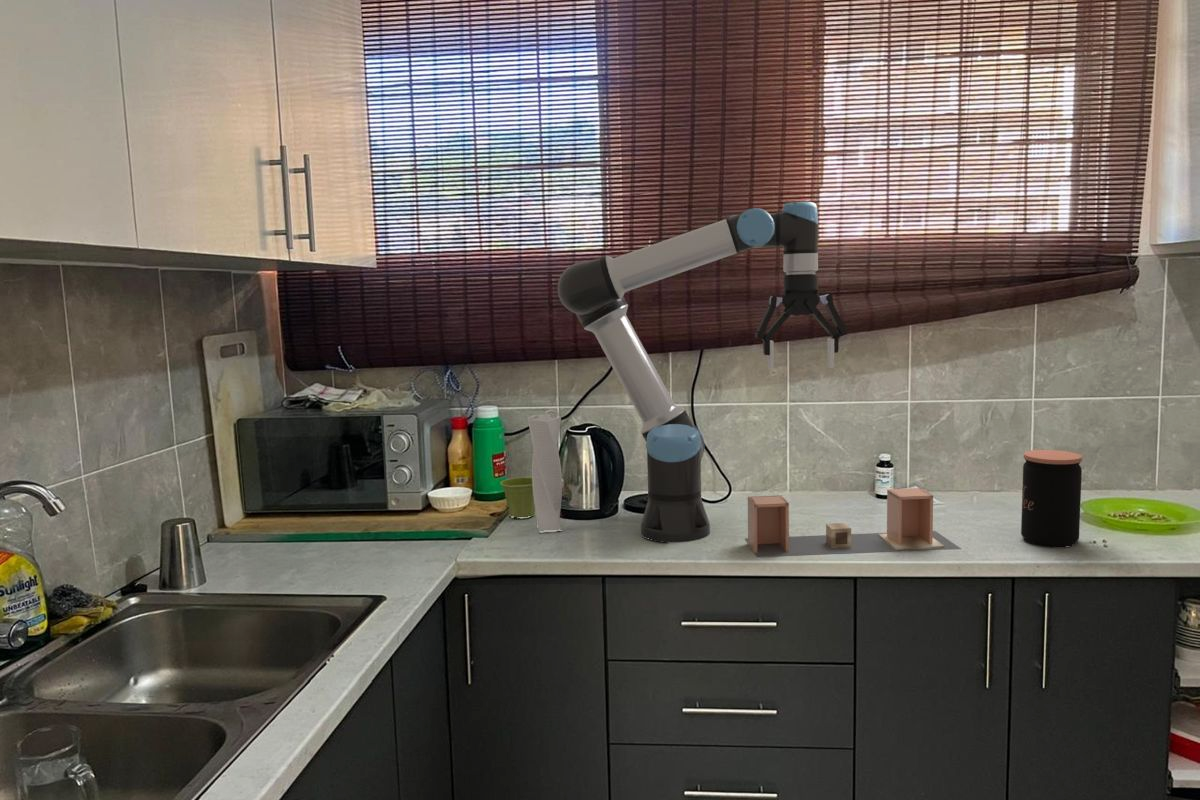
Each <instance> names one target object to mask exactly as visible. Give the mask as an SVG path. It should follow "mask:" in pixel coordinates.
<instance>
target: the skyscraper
mask: <svg viewBox="0 0 1200 800" xmlns="http://www.w3.org/2000/svg"><path fill="white" fill-rule="evenodd" d="M551 412H553V413H555V414H556V415H557V416H558V417H552V414H548V413H551ZM527 422H528V426H529V427H528V428H529V433H530V436H531V437H530V438H531V442H532V447H533V449H532V451H533V452H532V459H531V460H532V461H531V478H532V487H533V497H534V505H535V517H536V525H538V529H537V531H538V530H539V531H544V530H559V529H560V530H562V527H561V524H560V518H561V517H560V516H561V510H562V509H561V508H562V495H563V494H562V492H563V474H562V464H561V458H560V455H559V451H558V442H559V438H560V437H559V436H560V431H561V429H560V428H561V422H562V417H561V416H560V413H559V412H558V411H557V410H556V409H547V410H546V411H545V412H544V414H540V413H539V414H538V413H537V414H533V415H530V416H529V417H528V418H527ZM539 531H538V532H539ZM562 531H563V530H562Z"/></svg>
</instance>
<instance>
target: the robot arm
mask: <svg viewBox="0 0 1200 800" xmlns="http://www.w3.org/2000/svg"><path fill="white" fill-rule="evenodd" d="M818 215H819V214H818V206H817V204H816V203H815V202H812V201H797V202H796V201H795V202H787V203H784V205H783V206H782V210H781V211H779V212H774V213H773V212H772V213H771V212H770V213H769V212H768V211H767V210H765V209H763V208H759V207H758V208H756V207H754V208H749V209H746V210H745V211H744V212H742V213H740V214H734V215H733V214H732V215H730V216H729V218H725V219H722V220H720V221H716V222H714V223H711V224H708V225H705V226H703V227H698V228H696V229H694V230H691V231H687V232H685V233H682V234H680V235H677V236H673V237H671V238H668V239H665V240H662V241H660V242H656V243H654V244H651V245H648V246H645V247H643V248H639V249H637V250H633V251H631V252H628V253H624V254H621V255H620V256H616V257H612V256H610V255H604V256H603V257H599V258H596V259H592V260H588V261H581V262H575V263H573V264H572V265H569V266H568V267H567V268H566V269H564V271H563V272H562V274H561V275H560V277H559V279H558V284H557V294H558V298H559V300H560V302H561V304H562V305H563V307H565V309H566V310H568V311H570V312H571V313H573V314H575V315H576V317H577V319H578V321H579V323H580V325H582V327H583V330H585V331H589V332H591V333H593V334H594V336H595V338H596V339H597V341H598V343H599V345H600V346H601V349H602V351H603V353H604V355H605V356H606V358H607V359H608V360H607V361H609V363H610V366H611V367H612V369H613V370H614V372H615V374H616V376H617V378H618V379H619V382H620V384H621V385H622V387H623V390H624V391H625V392H626V395H627V396H628V398H629V400H630V402H631V404H632V406H633V407H634V409H635V410H636V413H637V415H638V417H639V419H640V421H641V422H642V425H641V430H640V433H641V436H642V437H643V438H644V441H645V448H646V461H647V467H646V468H647V497H648V498H647V503H646V506H645V509H644V512H643V513H644V514H643V517H642V519H641V524H640V534H642V535H643V536H644V537H646V538H649V539H652V540H656V541H655V542H657V541H663V542H662V543H665V542H668V543H685V542H687V543H688V542H693V541H694V542H695V541H698V540H702V539H705V538H706V537H708V536H710V534H711V524H710V520H709V517H708V515H707V512H706V509H705V506H704V503H703V500H702V474H701V473H702V471H701V470H702V459H703V457H704V454H705V441H704V437H703V434H702V431H700V429H699V428H698V427H697V426H696V425H694V423H693V421H692V420H691V417H690V416H689V414H688V412H687V411H686V409H685V408H684V407H681V406H678V405H676V404H675V402H674V400H673V399H672V396H671V395H670V393H669V390H668V389H667V388H666V386H665V383H664V382H663V380H662V377H660V375H659V372H658V371H657V369H656V367H655V365H654V364H653V362H652V359H651V358H650V356H649V354H648V352H647V350H646V349H645V347H644V346H643V343H642V342H641V339H640V338H639V336H638V334H637V332H636V331H635V328H634V327H633V325H632V323H631V321H630V320H629V318H628V316H627V311H628V309H629V308H628V307H629V304H628V303H627V301H626V298H625V297H624V295H625V293H627V292H629V291H631V290H635V289H637V288H641V287H644V286H646V285H650V284H653V283H655V282H658V281H660V280H661V281H662V280H663V279H667V278H669V277H673V276H675V275H678V274H681V273H683V272H687V271H690V270H692V269H696V268H698V267H702V266H703V265H707V264H711V263H713V262H715V261H718V260H721V259H725V258H727V257H730V256H733V255H736V254H739V253H743V252H744V251H748V250H750V249H761V248H762V249H763V248H781V247H782V249H783V251H782V252H783V262H782V264H783V266H782V268H783V269H782V270H783V272H784V273H785V274H784V276H783V281H782V283H783V287H782V288H783V289H782V290H783V295H782V297H778V296H775V295H771V296H769V298H768V303H767V304H768V305H767V308H766V310H765V312H764V315H763V316H762V318H761V321H760V323H759V325H758V326H757V329H756V331H755V334H754V337H755V338H757V339H760V340H762V352H763V355H764V356H767V370H769V371H774V370H775V366H774V365H775V359H774V358H775V353H774V352H775V349H774V348H775V347H774V344H775V343H774V340H771V339H772V337H774V336H775V334H776V333H777V331H778V330H779V329H780V328H781V327H782V325H783V324H784V323H785V322H786V321H787V319H788V318H790V316H794V317H797V316H801V315H802V316H809V315H811V316H812V317H814V318H815V320H816V321H817V322H818V323H819V325H821V327H822V328H823V329H824V331H826V333H827V334H828V335H829V336H830V338H829V337H828V338H827V359H826V360H827V368H830V369H834V368H835V353H838V352H839V342H840V341H839V340H840V338H841V337H843V336H846V335H848V331H847V329H846V327H845V324H844V322H843V321H842V318H841V316H840V314H839V313H838V311H837V308H836V306H835V305H834V300H833V295H832V294H830V293H828V294H824V295H819V276H818V273H816V272H817V271H818V270H819V250H818V249H819V219H818V218H819V216H818ZM820 302H821V304H822V305H825V308H826V310H827V313H828V314H829V317H830V319H831V321H832V323H833V324H834V326H835V328H834V326H832V324H831V323H830V322H829V321H828V319H827V318H825V316H824V315H823V314H822V312H821V311H820V310H819V309H818V308H817V306H818V304H819V303H820ZM780 303H781V304H782V305H783V306H784V309H783V310H782V311H781V313H780V315H779V316H778V317H777V318H776V320H774V322H773V323H772V325H771V326H770V327H769V328H768V329H767V327H768V325H769V323H770V321H771V319H772V317H773V314H774V313H775V310H776V307H778V306H779V305H780ZM766 329H767V331H766ZM642 535H641V536H642ZM643 536H642V537H643ZM644 537H643V538H644ZM646 538H645V539H646ZM649 539H648V540H649ZM652 540H651V541H652Z"/></svg>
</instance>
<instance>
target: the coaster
mask: <svg viewBox="0 0 1200 800" xmlns="http://www.w3.org/2000/svg"><path fill="white" fill-rule="evenodd" d="M878 536H879V537H880V538H881V539H883V540H884V541H885V542H886V543H887V544H889V545H890V546H891V547H892V548H893V549H895V550H905V549H929V548H944V547H945V546H944V545H942V544H941V543H940V542H938V541H937V540H935V539H934V538H933V540H932V544H929V543H928V542H926V541H925V540H924V539H922V538H921V537H919V536H901V545H898V544H896V543H895V542H894V541H893V540H891V539H890V538H889V537H887V534H878Z"/></svg>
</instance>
